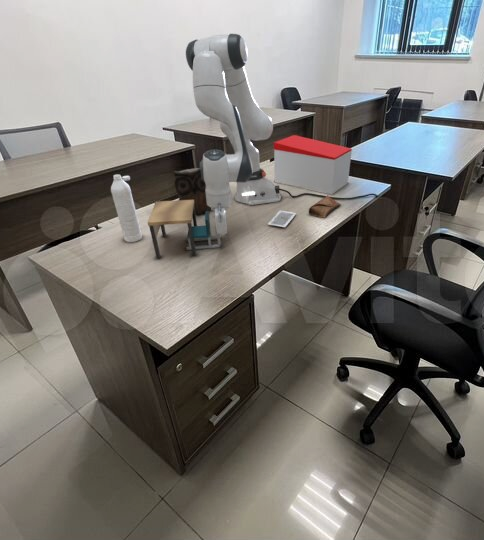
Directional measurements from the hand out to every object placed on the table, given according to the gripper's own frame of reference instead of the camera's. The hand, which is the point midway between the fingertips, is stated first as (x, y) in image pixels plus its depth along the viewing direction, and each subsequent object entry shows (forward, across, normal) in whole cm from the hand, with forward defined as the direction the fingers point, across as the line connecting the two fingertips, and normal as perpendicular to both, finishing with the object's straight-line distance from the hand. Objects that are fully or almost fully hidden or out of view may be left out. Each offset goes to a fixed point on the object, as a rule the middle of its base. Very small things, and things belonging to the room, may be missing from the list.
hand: (222, 233), depth 128 cm
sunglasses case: (+4, +24, -47) cm, 53 cm away
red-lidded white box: (+4, +61, -49) cm, 79 cm away
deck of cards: (+4, +15, -26) cm, 30 cm away
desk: (+4, 0, +17) cm, 17 cm away
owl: (+4, +32, +11) cm, 34 cm away
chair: (+4, 0, +8) cm, 9 cm away
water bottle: (+4, +8, +34) cm, 35 cm away
